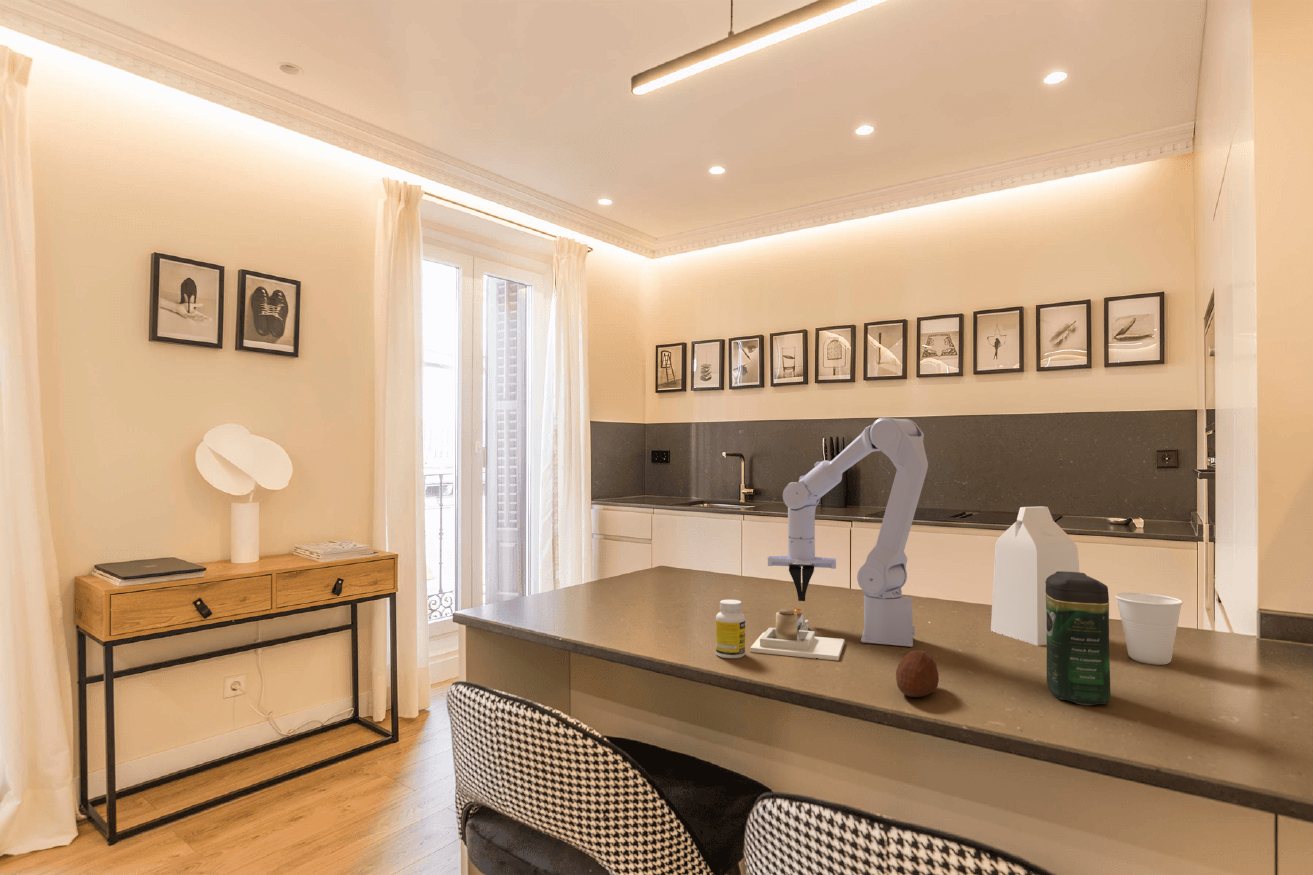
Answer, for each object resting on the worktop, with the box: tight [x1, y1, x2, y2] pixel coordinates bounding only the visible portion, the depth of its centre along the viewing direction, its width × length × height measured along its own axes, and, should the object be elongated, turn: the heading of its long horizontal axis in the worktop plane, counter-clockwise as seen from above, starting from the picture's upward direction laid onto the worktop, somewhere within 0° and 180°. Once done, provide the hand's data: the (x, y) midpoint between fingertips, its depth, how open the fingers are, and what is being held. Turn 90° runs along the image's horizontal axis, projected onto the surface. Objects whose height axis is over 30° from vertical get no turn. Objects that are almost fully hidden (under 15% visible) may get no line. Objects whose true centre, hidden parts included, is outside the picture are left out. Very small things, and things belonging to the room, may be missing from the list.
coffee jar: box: [1045, 571, 1111, 706], centre depth 104 cm, size 10×8×19 cm
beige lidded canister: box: [775, 608, 797, 641], centre depth 131 cm, size 4×4×7 cm
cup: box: [1114, 592, 1184, 666], centre depth 122 cm, size 10×10×11 cm
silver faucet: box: [793, 608, 804, 634], centre depth 140 cm, size 2×8×4 cm, turn 159°
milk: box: [990, 506, 1080, 647], centre depth 139 cm, size 12×12×26 cm
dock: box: [749, 619, 845, 662], centre depth 135 cm, size 16×22×2 cm
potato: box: [895, 649, 940, 698], centre depth 105 cm, size 6×12×6 cm, turn 149°
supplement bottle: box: [715, 599, 746, 659], centre depth 126 cm, size 5×5×10 cm
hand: (801, 600), depth 149 cm, fingers closed
